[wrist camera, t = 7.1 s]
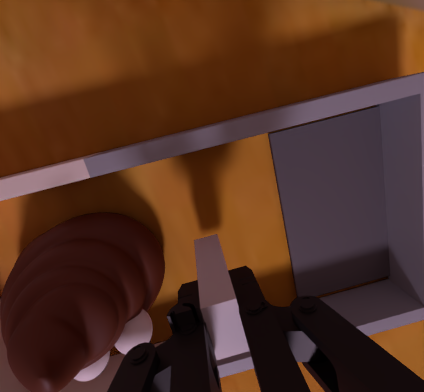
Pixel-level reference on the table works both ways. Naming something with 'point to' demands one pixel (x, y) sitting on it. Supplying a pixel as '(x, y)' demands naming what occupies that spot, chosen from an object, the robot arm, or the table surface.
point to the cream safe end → (3, 376)
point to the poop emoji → (79, 299)
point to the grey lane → (334, 196)
